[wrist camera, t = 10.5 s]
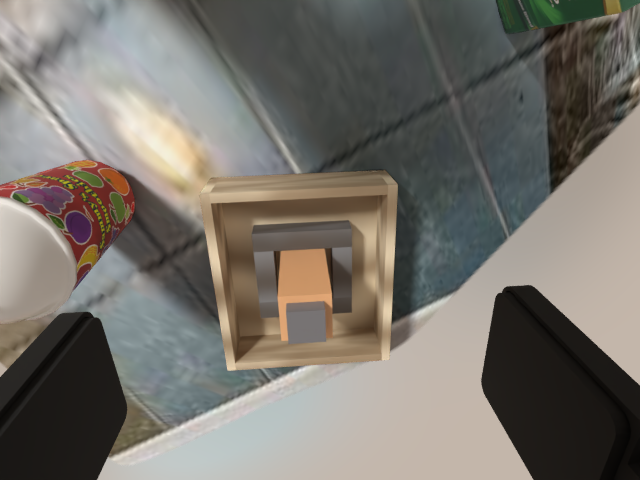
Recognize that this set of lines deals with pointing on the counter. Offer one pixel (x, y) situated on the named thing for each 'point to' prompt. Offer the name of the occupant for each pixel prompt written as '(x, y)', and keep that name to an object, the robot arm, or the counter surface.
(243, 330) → the walled tray
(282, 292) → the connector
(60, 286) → the smoothie
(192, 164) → the counter surface
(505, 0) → the coffee box
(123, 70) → the counter surface
